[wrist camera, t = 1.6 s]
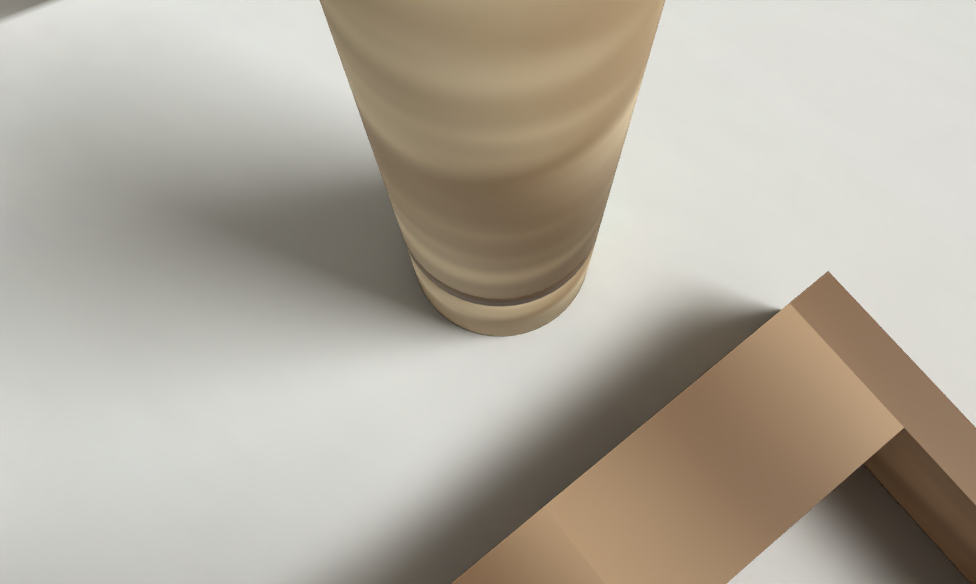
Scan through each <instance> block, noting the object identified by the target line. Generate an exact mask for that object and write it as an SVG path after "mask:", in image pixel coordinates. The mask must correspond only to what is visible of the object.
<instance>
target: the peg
mask: <svg viewBox="0 0 976 584" xmlns="http://www.w3.org/2000/svg"><path fill="white" fill-rule="evenodd" d="M320 2H321V5H322V8H323V11H324V14H325V17H326V20H327V22H328V25H329V28H330V31H331V34H332V37H333V39H334V42H335V45H336V48H337V51H338V54H339V56H340V59H341V62H342V65H343V68H344V71H345V73H346V76H347V79H348V82H349V85H350V88H351V90H352V93H353V96H354V99H355V102H356V105H357V107H358V110H359V113H360V116H361V119H362V122H363V125H364V127H365V130H366V133H367V136H368V139H369V142H370V144H371V147H372V150H373V153H374V156H375V159H376V161H377V164H378V167H379V170H380V173H381V176H382V178H383V181H384V184H385V187H386V190H387V193H388V195H389V198H390V201H391V204H392V207H393V210H394V213H395V215H396V218H397V221H398V224H399V227H400V230H401V232H402V235H403V238H404V241H405V244H406V247H407V249H408V252H409V255H410V258H411V261H412V264H413V266H414V269H415V272H416V275H417V278H418V281H419V283H420V286H421V288H422V290H423V292H424V293H425V295H426V297H427V298H428V299H429V301H430V302H431V304H432V305H433V306H434V307H435V308H436V309H437V310H438V311H439V312H440V313H441V314H442V315H443V316H445V317H446V318H447V319H448V320H450V321H451V322H453V323H455V324H456V325H458V326H460V327H462V328H464V329H467V330H469V331H472V332H475V333H479V334H484V335H490V336H512V335H518V334H523V333H527V332H530V331H533V330H535V329H538V328H540V327H542V326H544V325H546V324H548V323H549V322H551V321H552V320H554V319H555V318H556V317H558V316H559V315H560V314H561V313H562V312H563V311H564V310H565V309H566V308H567V307H568V306H569V305H570V304H571V302H572V301H573V300H574V298H575V297H576V295H577V294H578V292H579V290H580V288H581V286H582V284H583V282H584V279H585V276H586V272H587V269H588V266H589V262H590V259H591V255H592V252H593V248H594V245H595V241H596V238H597V234H598V231H599V227H600V224H601V221H602V217H603V214H604V210H605V207H606V203H607V200H608V196H609V193H610V189H611V186H612V183H613V179H614V176H615V172H616V169H617V165H618V162H619V158H620V155H621V151H622V148H623V144H624V141H625V138H626V134H627V131H628V127H629V124H630V120H631V117H632V113H633V110H634V106H635V103H636V100H637V96H638V93H639V89H640V86H641V82H642V79H643V75H644V72H645V68H646V65H647V61H648V58H649V55H650V51H651V48H652V44H653V41H654V37H655V34H656V30H657V27H658V23H659V20H660V16H661V13H662V10H663V6H664V3H665V0H320Z"/></svg>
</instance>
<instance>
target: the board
mask: <svg viewBox="0 0 976 584" xmlns="http://www.w3.org/2000/svg"><path fill="white" fill-rule="evenodd" d="M862 464H864V465H865V466H866V467H867V468H868V469H869V470H870V472H871V473H872V474H873V475H874V476H875V477H876V478H877V479H878V480H879V482H880V483H881V484H882V485H883V486H884V487H885V488H886V489H887V490H888V492H889V493H890V494H891V495H892V496H893V497H894V498H895V499H896V500H897V502H898V503H899V504H900V505H901V506H902V507H903V508H904V509H905V510H906V512H907V513H908V514H909V515H910V516H911V517H912V518H913V519H914V521H915V522H916V523H917V524H918V525H919V526H920V527H921V528H922V529H923V531H924V532H925V533H926V534H927V535H928V536H929V537H930V538H931V539H932V541H933V542H934V543H935V544H936V545H937V546H938V547H939V548H940V549H941V551H942V552H943V553H944V554H945V555H946V556H947V557H948V558H949V559H950V561H951V562H952V563H953V564H954V565H955V566H956V567H957V568H958V570H959V571H960V572H961V573H962V574H963V575H964V576H965V577H966V578H967V580H968V581H969V582H970V583H971V584H976V428H975V426H974V425H973V424H972V423H971V422H970V421H969V420H968V419H967V418H966V417H965V416H964V415H963V414H962V413H961V412H960V411H959V409H958V408H957V407H956V406H955V405H954V404H953V403H952V402H951V401H950V400H949V399H948V398H947V397H946V396H945V395H944V394H943V392H942V391H941V390H940V389H939V388H938V387H937V386H936V385H935V384H934V383H933V382H932V381H931V380H930V379H929V378H928V377H927V375H926V374H925V373H924V372H923V371H922V370H921V369H920V368H919V367H918V366H917V365H916V364H915V363H914V362H913V361H912V360H911V358H910V357H909V356H908V355H907V354H906V353H905V352H904V351H903V350H902V349H901V348H900V347H899V346H898V345H897V344H896V343H895V342H894V340H893V339H892V338H891V337H890V336H889V335H888V334H887V333H886V332H885V331H884V330H883V329H882V328H881V327H880V326H879V325H878V323H877V322H876V321H875V320H874V319H873V318H872V317H871V316H870V315H869V314H868V313H867V312H866V311H865V310H864V309H863V308H862V306H861V305H860V304H859V303H858V302H857V301H856V300H855V299H854V298H853V297H852V296H851V295H850V294H849V293H848V292H847V291H846V289H845V288H844V287H843V286H842V285H841V284H840V283H839V282H838V281H837V280H836V279H835V278H834V277H833V276H832V275H831V274H830V272H829V271H828V272H826V273H825V274H824V275H823V276H822V277H820V278H819V279H818V280H817V281H816V282H814V283H813V284H812V285H811V286H809V287H808V288H807V289H806V290H805V291H803V292H802V293H801V294H800V295H799V296H797V297H796V298H795V299H794V300H793V301H791V302H790V303H789V304H788V305H787V306H785V307H784V308H783V309H782V310H781V311H779V312H778V313H777V314H776V315H774V316H773V317H772V318H771V319H770V320H768V321H767V322H766V323H765V324H764V325H762V326H761V327H760V328H759V329H758V330H756V331H755V332H754V333H753V334H752V335H750V336H749V337H748V338H747V339H745V340H744V341H743V342H742V343H741V344H739V345H738V346H737V347H736V348H735V349H733V350H732V351H731V352H730V353H729V354H727V355H726V356H725V357H724V358H723V359H721V360H720V361H719V362H718V363H717V364H715V365H714V366H713V367H712V368H710V369H709V370H708V371H707V372H706V373H704V374H703V375H702V376H701V377H700V378H698V379H697V380H696V381H695V382H694V383H692V384H691V385H690V386H689V387H688V388H686V389H685V390H684V391H683V392H682V393H680V394H679V395H678V396H677V397H675V398H674V399H673V400H672V401H671V402H669V403H668V404H667V405H666V406H665V407H663V408H662V409H661V410H660V411H659V412H657V413H656V414H655V415H654V416H653V417H651V418H650V419H649V420H648V421H646V422H645V423H644V424H643V425H642V426H640V427H639V428H638V429H637V430H636V431H634V432H633V433H632V434H631V435H630V436H628V437H627V438H626V439H625V440H624V441H622V442H621V443H620V444H619V445H618V446H616V447H615V448H614V449H613V450H611V451H610V452H609V453H608V454H607V455H605V456H604V457H603V458H602V459H601V460H599V461H598V462H597V463H596V464H595V465H593V466H592V467H591V468H590V469H589V470H587V471H586V472H585V473H584V474H582V475H581V476H580V477H579V478H578V479H576V480H575V481H574V482H573V483H572V484H570V485H569V486H568V487H567V488H566V489H564V490H563V491H562V492H561V493H560V494H558V495H557V496H556V497H555V498H554V499H552V500H551V501H550V502H549V503H547V504H546V505H545V506H544V507H543V508H541V509H540V510H539V511H538V512H537V513H535V514H534V515H533V516H532V517H531V518H529V519H528V520H527V521H526V522H525V523H523V524H522V525H521V526H520V527H518V528H517V529H516V530H515V531H514V532H512V533H511V534H510V535H509V536H508V537H506V538H505V539H504V540H503V541H502V542H500V543H499V544H498V545H497V546H496V547H494V548H493V549H492V550H491V551H490V552H488V553H487V554H486V555H485V556H483V557H482V558H481V559H480V560H479V561H477V562H476V563H475V564H474V565H473V566H471V567H470V568H469V569H468V570H467V571H465V572H464V573H463V574H462V575H461V576H459V577H458V578H457V579H456V580H455V581H453V582H452V583H451V584H726V583H727V582H729V581H730V580H731V579H732V578H733V577H734V576H735V575H737V574H738V573H739V572H740V571H741V570H742V569H743V568H745V567H746V566H747V565H748V564H749V563H750V562H751V561H753V560H754V559H755V558H756V557H757V556H758V555H759V554H761V553H762V552H763V551H764V550H765V549H766V548H767V547H768V546H770V545H771V544H772V543H773V542H774V541H775V540H776V539H778V538H779V537H780V536H781V535H782V534H783V533H784V532H786V531H787V530H788V529H789V528H790V527H791V526H792V525H794V524H795V523H796V522H797V521H798V520H799V519H800V518H802V517H803V516H804V515H805V514H806V513H807V512H808V511H810V510H811V509H812V508H813V507H814V506H815V505H816V504H818V503H819V502H820V501H821V500H822V499H823V498H824V497H826V496H827V495H828V494H829V493H830V492H831V491H832V490H834V489H835V488H836V487H837V486H838V485H839V484H840V483H842V482H843V481H844V480H845V479H846V478H847V477H848V476H849V475H851V474H852V473H853V472H854V471H855V470H856V469H857V468H859V467H860V466H861V465H862Z"/></svg>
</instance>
